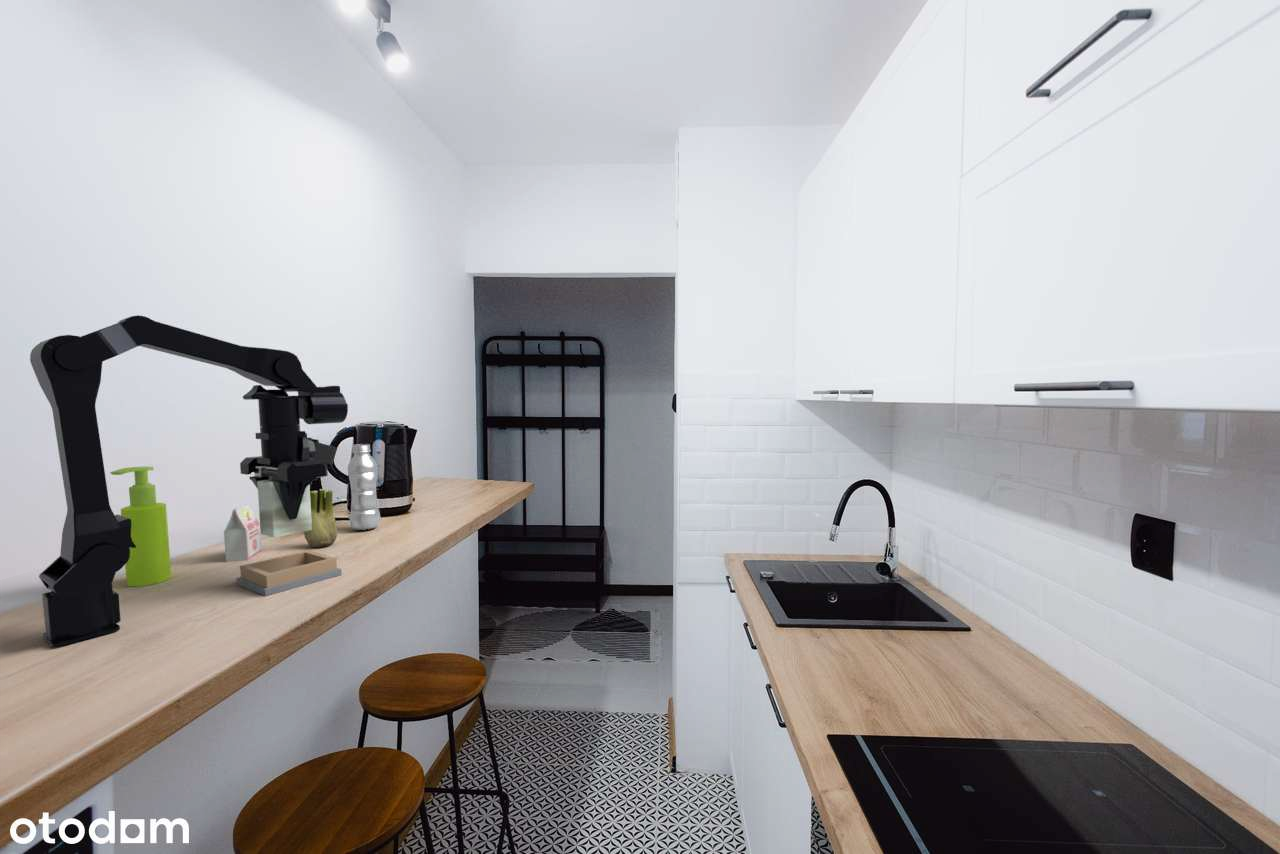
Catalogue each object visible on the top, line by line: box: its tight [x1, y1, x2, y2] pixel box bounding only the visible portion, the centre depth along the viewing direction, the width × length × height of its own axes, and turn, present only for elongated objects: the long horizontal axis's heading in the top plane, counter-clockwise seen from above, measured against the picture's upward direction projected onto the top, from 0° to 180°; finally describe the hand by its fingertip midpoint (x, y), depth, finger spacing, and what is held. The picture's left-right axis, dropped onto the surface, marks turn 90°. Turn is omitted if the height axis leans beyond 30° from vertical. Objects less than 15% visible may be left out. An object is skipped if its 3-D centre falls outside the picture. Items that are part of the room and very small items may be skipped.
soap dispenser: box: [109, 466, 172, 587], centre depth 97 cm, size 6×7×20 cm
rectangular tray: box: [235, 549, 342, 597], centre depth 97 cm, size 12×11×3 cm
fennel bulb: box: [303, 488, 338, 548], centre depth 119 cm, size 6×5×12 cm
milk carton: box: [223, 503, 263, 563], centre depth 112 cm, size 4×7×10 cm, turn 14°
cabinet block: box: [257, 475, 312, 538], centre depth 97 cm, size 6×5×10 cm
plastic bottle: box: [347, 443, 381, 531], centre depth 133 cm, size 6×7×20 cm
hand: (285, 517), depth 97 cm, fingers closed on cabinet block, 5 cm apart
